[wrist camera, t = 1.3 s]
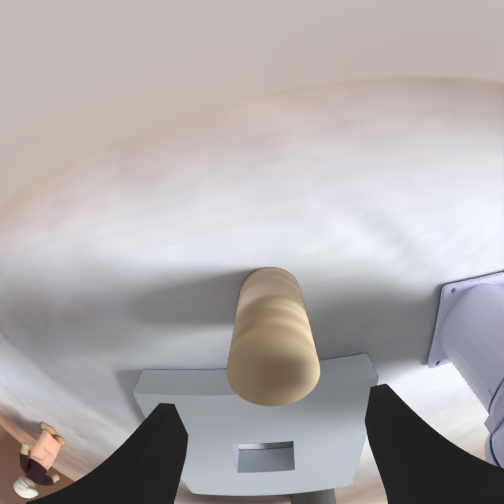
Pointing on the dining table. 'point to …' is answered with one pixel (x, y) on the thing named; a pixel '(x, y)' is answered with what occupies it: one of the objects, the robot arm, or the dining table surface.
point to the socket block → (266, 429)
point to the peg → (272, 341)
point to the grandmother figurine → (38, 462)
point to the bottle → (314, 497)
